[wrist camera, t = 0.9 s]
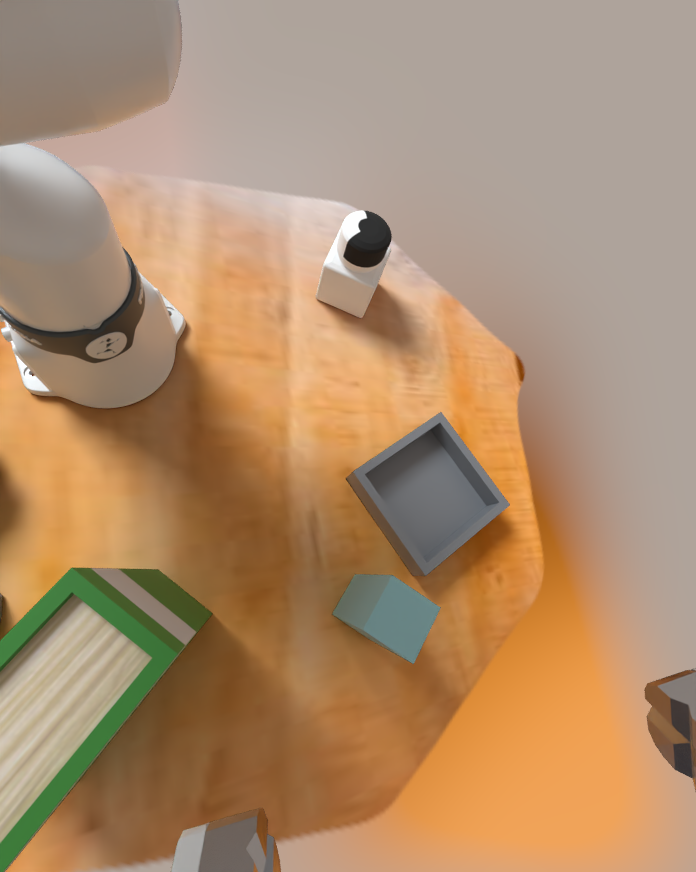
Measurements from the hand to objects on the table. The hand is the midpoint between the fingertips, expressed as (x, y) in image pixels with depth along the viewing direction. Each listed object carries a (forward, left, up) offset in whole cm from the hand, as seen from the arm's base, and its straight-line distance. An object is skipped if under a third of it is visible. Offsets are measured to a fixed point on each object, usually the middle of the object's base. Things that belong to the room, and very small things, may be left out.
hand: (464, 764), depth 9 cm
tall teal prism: (+5, +7, -41) cm, 42 cm away
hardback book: (-5, -16, -42) cm, 45 cm away
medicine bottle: (-30, +30, -42) cm, 59 cm away
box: (-1, +21, -41) cm, 46 cm away
